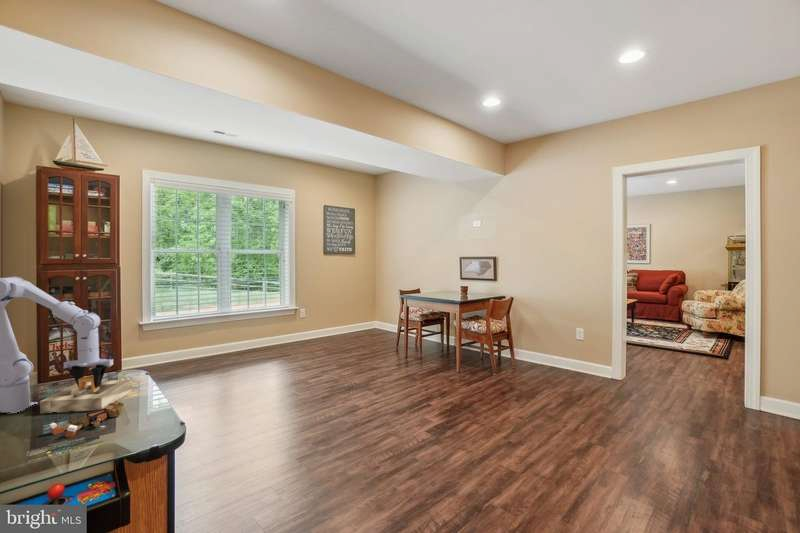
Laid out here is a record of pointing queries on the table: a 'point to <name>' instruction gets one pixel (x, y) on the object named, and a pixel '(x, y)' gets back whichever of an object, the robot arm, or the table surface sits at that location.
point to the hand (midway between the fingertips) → (89, 386)
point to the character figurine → (89, 419)
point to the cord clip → (84, 381)
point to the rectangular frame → (86, 397)
